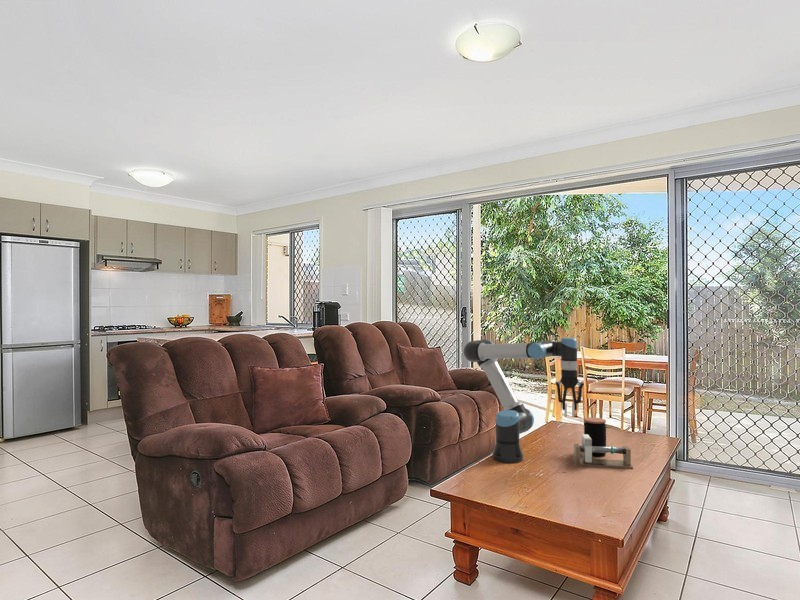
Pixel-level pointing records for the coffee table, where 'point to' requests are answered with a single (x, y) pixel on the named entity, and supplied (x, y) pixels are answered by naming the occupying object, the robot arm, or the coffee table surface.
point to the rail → (604, 462)
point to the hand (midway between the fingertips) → (569, 416)
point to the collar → (587, 448)
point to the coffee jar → (596, 432)
